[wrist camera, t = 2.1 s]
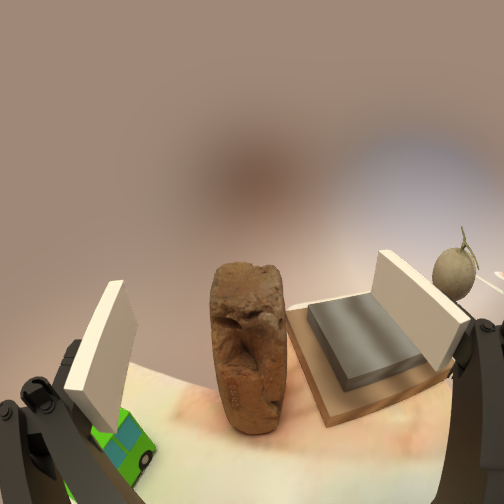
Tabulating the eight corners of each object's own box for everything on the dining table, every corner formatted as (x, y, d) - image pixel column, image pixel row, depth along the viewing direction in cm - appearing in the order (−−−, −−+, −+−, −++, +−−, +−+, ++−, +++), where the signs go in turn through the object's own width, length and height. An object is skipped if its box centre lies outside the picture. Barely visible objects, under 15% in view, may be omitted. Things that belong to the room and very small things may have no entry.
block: (232, 375, 38) (214, 255, 30) (283, 375, 38) (285, 254, 29) (224, 437, 29) (191, 321, 20) (284, 438, 28) (293, 321, 19)
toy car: (60, 484, 18) (13, 450, 13) (107, 423, 29) (74, 380, 25) (119, 528, 15) (71, 509, 10) (166, 453, 26) (137, 415, 22)
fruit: (449, 317, 44) (471, 250, 37) (419, 289, 54) (433, 227, 48) (476, 306, 45) (496, 245, 39) (447, 281, 55) (461, 224, 49)
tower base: (386, 302, 51) (392, 277, 49) (449, 376, 32) (464, 350, 29) (284, 324, 49) (285, 297, 46) (326, 427, 29) (334, 404, 26)
